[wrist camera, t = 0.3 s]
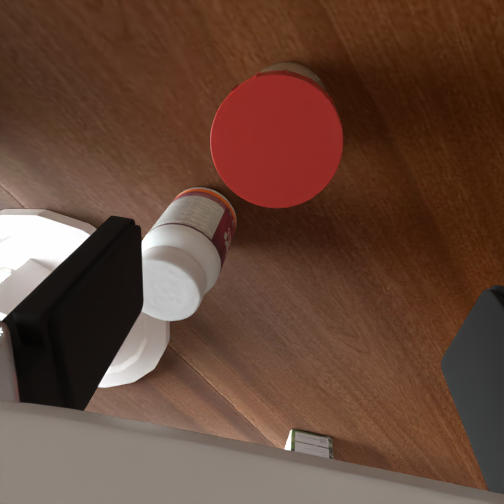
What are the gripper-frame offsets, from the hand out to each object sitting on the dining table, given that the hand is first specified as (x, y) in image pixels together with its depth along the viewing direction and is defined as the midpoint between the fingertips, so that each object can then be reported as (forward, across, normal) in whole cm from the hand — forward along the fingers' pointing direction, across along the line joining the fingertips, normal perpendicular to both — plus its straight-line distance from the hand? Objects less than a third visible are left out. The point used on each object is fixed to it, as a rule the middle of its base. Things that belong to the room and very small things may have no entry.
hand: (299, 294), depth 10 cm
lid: (+11, +2, -1) cm, 12 cm away
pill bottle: (+21, +7, +10) cm, 24 cm away
